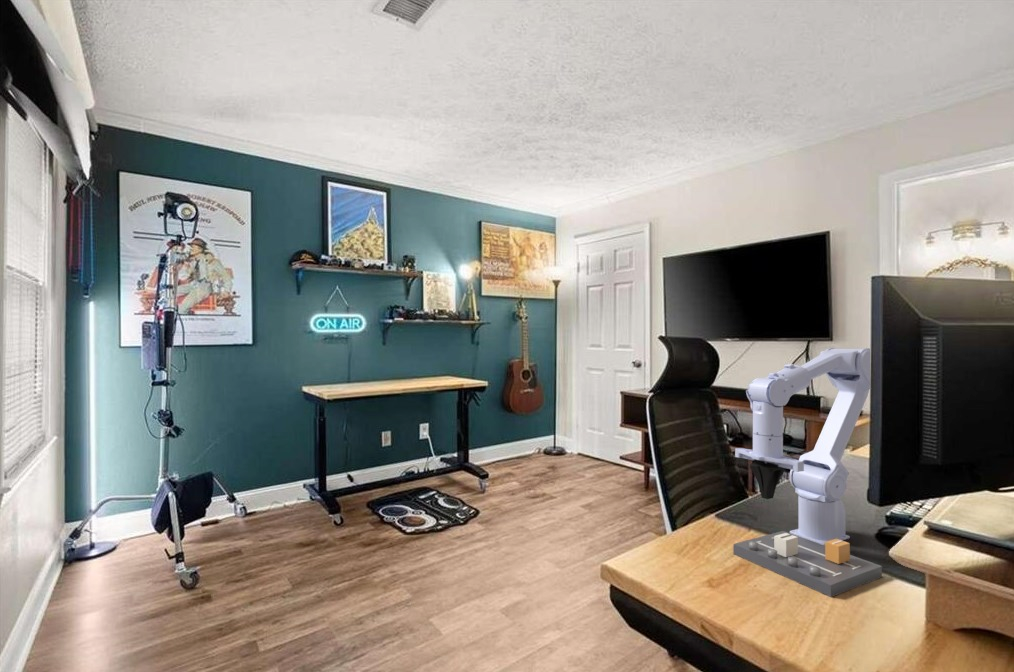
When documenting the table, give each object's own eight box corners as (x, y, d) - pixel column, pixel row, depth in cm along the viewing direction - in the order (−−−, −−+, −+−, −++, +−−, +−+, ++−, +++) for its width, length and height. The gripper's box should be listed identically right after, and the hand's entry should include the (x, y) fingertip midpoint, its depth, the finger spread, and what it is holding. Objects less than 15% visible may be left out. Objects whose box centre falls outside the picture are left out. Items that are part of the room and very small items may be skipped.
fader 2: (836, 555, 94) (836, 538, 94) (849, 560, 92) (849, 542, 92) (825, 558, 92) (825, 541, 92) (838, 564, 90) (838, 546, 90)
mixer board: (783, 539, 107) (783, 525, 107) (882, 577, 90) (881, 559, 90) (733, 553, 99) (733, 538, 100) (830, 597, 83) (830, 577, 83)
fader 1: (785, 549, 97) (785, 532, 97) (797, 553, 94) (797, 536, 95) (774, 552, 95) (774, 535, 95) (786, 557, 93) (786, 539, 93)
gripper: (726, 429, 109) (725, 490, 109) (788, 441, 97) (788, 510, 96) (747, 427, 113) (746, 487, 112) (810, 438, 100) (810, 505, 99)
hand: (767, 497), depth 105 cm, fingers closed
